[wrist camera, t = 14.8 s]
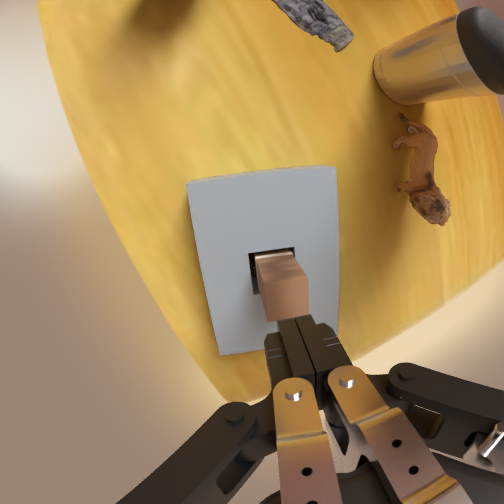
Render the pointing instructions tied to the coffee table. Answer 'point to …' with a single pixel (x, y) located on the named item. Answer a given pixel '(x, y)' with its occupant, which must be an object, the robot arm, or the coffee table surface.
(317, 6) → the driftwood
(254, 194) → the grey rectangular block
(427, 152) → the lion figurine
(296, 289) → the walnut peg
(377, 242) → the coffee table surface
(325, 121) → the coffee table surface
